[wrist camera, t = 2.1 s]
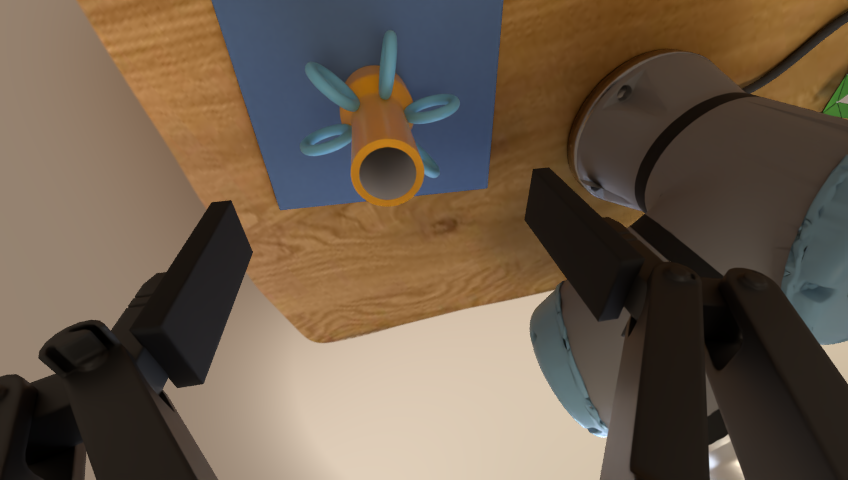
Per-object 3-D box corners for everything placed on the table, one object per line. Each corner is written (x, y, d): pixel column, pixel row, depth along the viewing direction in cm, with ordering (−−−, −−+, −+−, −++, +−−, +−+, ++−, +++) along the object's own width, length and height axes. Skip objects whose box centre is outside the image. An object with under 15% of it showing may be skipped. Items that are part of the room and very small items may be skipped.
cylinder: (463, 100, 32) (527, 170, 20) (391, 181, 36) (409, 280, 24) (355, -10, 26) (354, -5, 14) (281, 100, 30) (231, 178, 18)
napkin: (506, -49, 26) (507, -49, 26) (486, 187, 38) (487, 188, 38) (200, -39, 24) (198, -40, 24) (280, 208, 36) (279, 210, 36)
